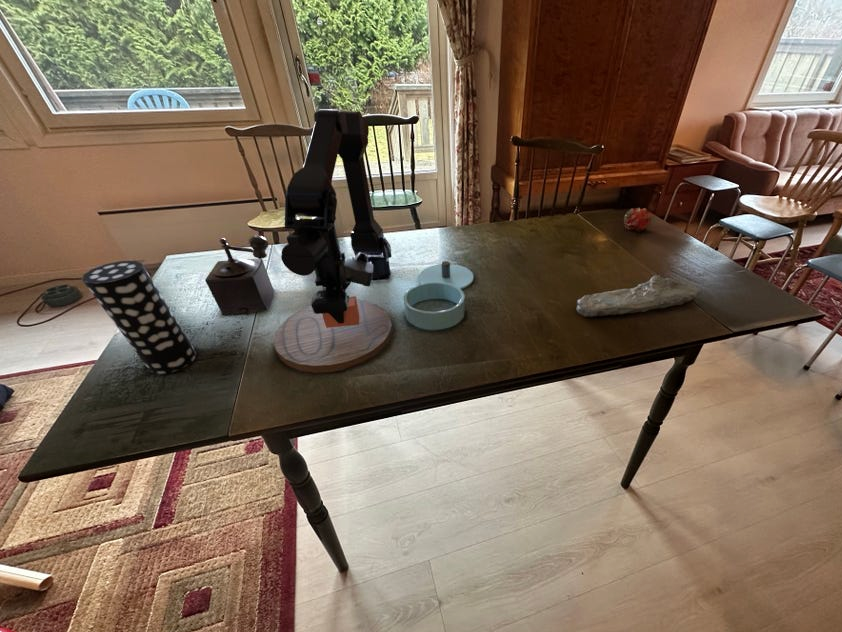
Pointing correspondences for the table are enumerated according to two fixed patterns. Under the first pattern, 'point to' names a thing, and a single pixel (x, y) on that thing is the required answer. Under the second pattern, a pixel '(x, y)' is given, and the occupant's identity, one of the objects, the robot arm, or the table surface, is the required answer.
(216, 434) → the table surface
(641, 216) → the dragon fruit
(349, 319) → the orange rectangular block
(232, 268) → the manual coffee grinder
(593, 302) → the long grey stone
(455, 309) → the pot
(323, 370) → the trivet
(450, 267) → the lid
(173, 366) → the spotted tube
